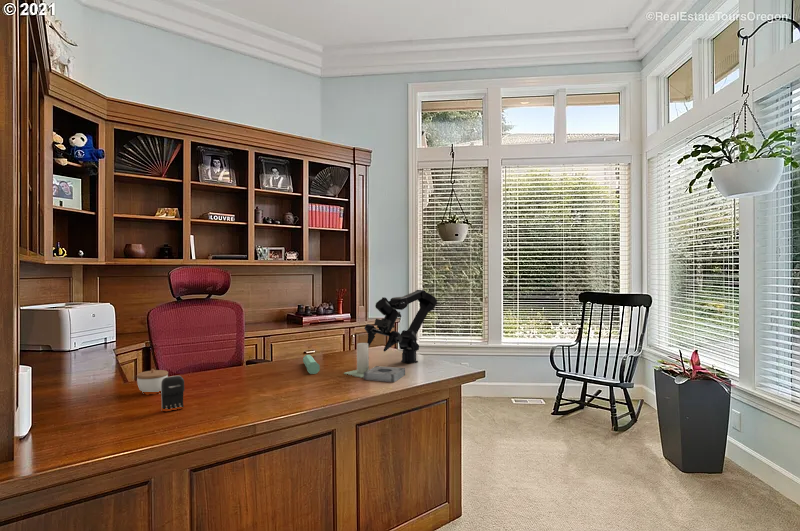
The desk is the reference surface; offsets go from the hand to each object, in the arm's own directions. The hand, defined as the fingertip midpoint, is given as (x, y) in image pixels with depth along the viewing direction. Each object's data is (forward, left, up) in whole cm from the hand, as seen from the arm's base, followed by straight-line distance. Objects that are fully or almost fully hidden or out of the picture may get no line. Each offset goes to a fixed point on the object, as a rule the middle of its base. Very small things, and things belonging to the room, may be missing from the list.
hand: (375, 348), depth 219 cm
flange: (+4, +14, -10) cm, 18 cm away
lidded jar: (+90, -20, -10) cm, 93 cm away
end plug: (+8, +2, -10) cm, 13 cm away
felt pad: (+8, +2, -10) cm, 13 cm away
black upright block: (+88, +9, -10) cm, 89 cm away
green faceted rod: (+22, -23, -11) cm, 34 cm away
